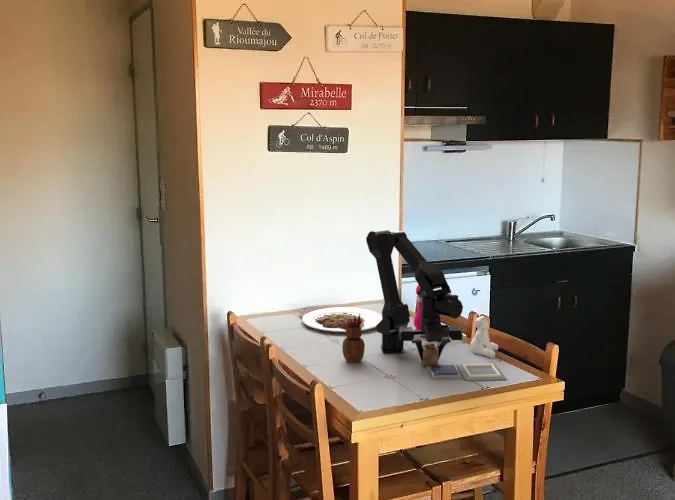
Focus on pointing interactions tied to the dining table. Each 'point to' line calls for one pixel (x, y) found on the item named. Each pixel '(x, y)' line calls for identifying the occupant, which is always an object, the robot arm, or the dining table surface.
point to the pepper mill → (418, 315)
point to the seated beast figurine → (483, 339)
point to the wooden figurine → (353, 342)
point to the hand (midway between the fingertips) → (429, 360)
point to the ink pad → (444, 371)
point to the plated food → (341, 318)
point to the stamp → (430, 354)
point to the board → (481, 372)
